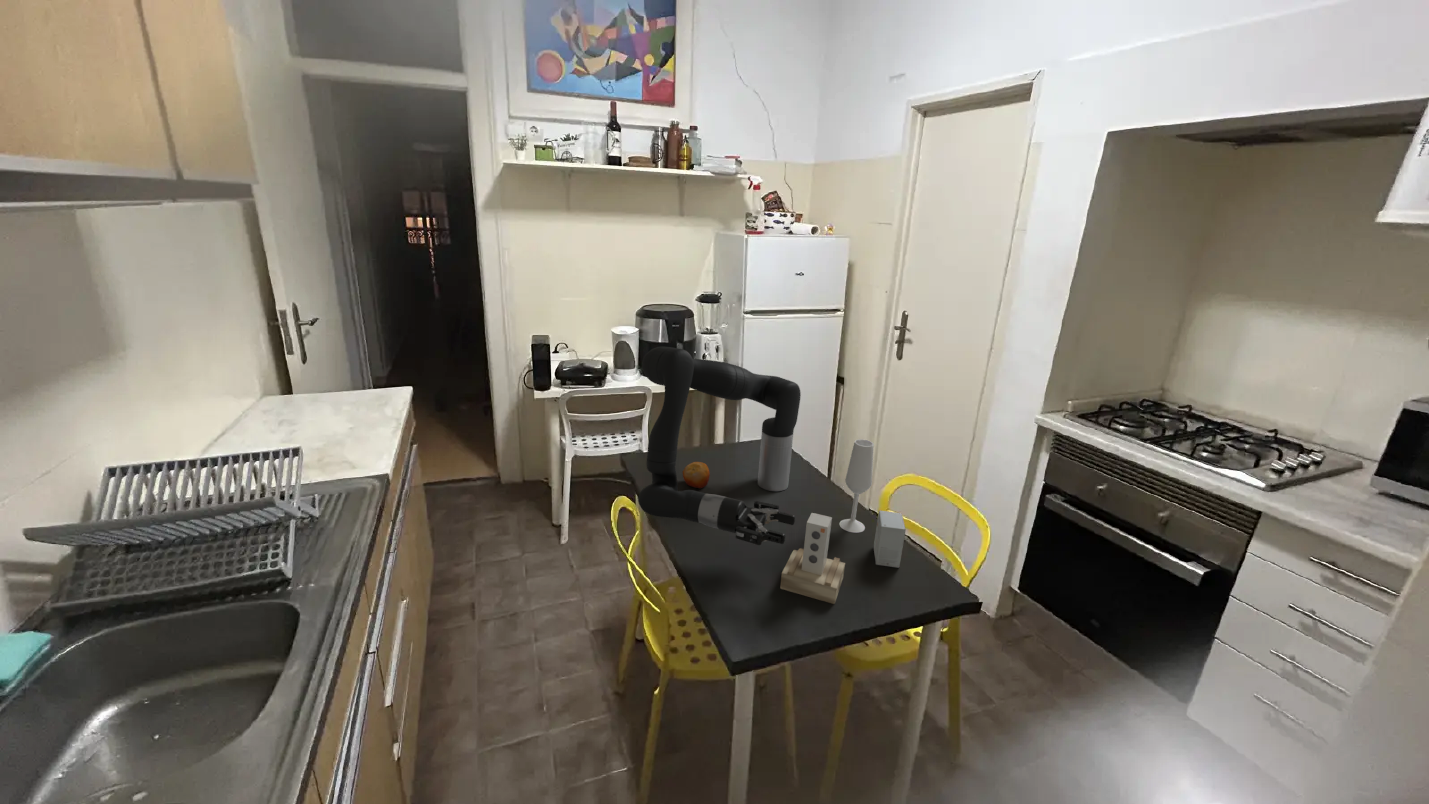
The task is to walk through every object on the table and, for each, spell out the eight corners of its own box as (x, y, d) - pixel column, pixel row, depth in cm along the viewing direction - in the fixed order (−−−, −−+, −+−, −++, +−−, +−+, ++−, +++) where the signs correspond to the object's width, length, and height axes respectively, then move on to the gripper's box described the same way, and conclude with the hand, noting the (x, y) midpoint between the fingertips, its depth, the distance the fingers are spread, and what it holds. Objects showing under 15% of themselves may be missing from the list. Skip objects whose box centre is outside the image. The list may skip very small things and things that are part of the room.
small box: (899, 568, 134) (906, 530, 131) (874, 565, 135) (881, 526, 132) (896, 550, 141) (902, 512, 138) (873, 546, 142) (878, 509, 139)
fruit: (718, 477, 172) (711, 461, 166) (705, 498, 167) (698, 482, 162) (696, 470, 176) (689, 454, 170) (683, 490, 171) (675, 474, 166)
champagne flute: (870, 528, 150) (883, 445, 142) (851, 535, 147) (864, 450, 139) (852, 517, 156) (864, 436, 148) (834, 522, 152) (844, 440, 145)
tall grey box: (806, 559, 129) (811, 512, 125) (825, 564, 127) (832, 517, 124) (801, 570, 125) (806, 522, 121) (821, 576, 123) (827, 527, 119)
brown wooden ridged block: (792, 564, 134) (793, 546, 132) (843, 578, 130) (845, 560, 128) (780, 588, 125) (782, 570, 123) (834, 604, 121) (837, 585, 119)
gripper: (710, 512, 124) (782, 530, 118) (733, 485, 136) (799, 500, 131) (709, 542, 126) (779, 561, 121) (731, 512, 139) (796, 528, 133)
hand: (789, 529), depth 126 cm, fingers open, 8 cm apart
